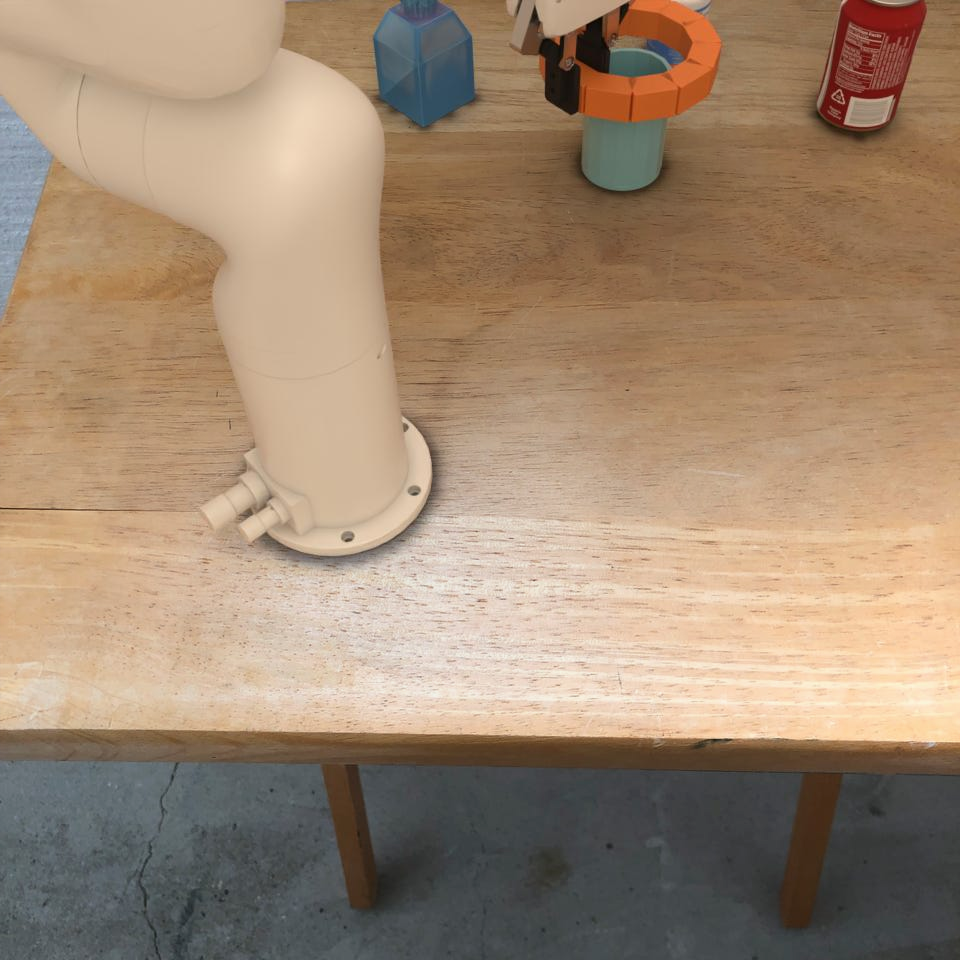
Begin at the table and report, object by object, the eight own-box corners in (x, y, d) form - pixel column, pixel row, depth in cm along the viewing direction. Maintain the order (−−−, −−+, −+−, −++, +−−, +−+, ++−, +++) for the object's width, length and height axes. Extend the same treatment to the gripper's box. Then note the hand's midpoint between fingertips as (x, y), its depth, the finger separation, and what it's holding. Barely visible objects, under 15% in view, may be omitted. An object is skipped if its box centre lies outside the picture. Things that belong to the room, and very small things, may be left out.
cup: (621, 202, 91) (629, 108, 84) (564, 164, 95) (568, 70, 87) (677, 166, 94) (690, 72, 87) (620, 131, 97) (628, 37, 90)
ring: (630, 144, 81) (633, 116, 79) (505, 68, 87) (505, 40, 85) (751, 70, 86) (756, 42, 84) (625, 3, 92) (627, -24, 91)
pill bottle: (638, 45, 105) (647, -56, 97) (692, 37, 105) (706, -64, 98) (653, 77, 102) (664, -24, 94) (710, 69, 102) (725, -32, 94)
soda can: (893, 141, 95) (935, 11, 85) (813, 134, 96) (845, 4, 86) (892, 95, 99) (932, -34, 89) (815, 88, 100) (846, -41, 90)
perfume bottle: (380, 98, 101) (364, -28, 92) (430, 70, 104) (421, -55, 94) (423, 127, 98) (412, 0, 89) (474, 98, 101) (469, -29, 91)
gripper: (634, -212, 75) (615, 38, 89) (452, -135, 69) (464, 119, 83) (717, -177, 71) (683, 77, 86) (533, -93, 65) (531, 165, 80)
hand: (575, 96), depth 84 cm, fingers closed on ring, 2 cm apart
